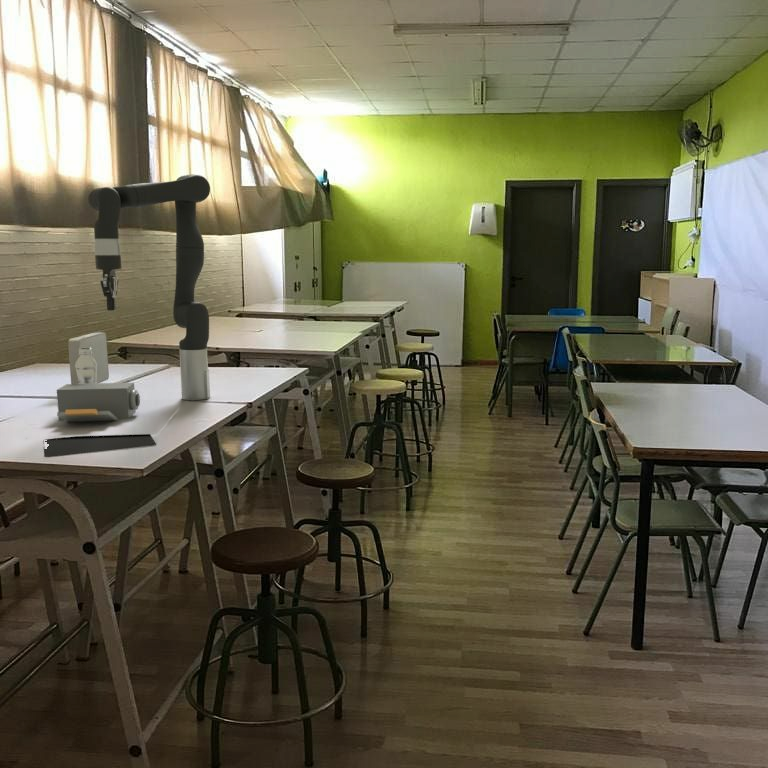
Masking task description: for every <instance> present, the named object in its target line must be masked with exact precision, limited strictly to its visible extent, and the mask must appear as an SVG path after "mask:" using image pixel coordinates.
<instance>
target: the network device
mask: <svg viewBox="0 0 768 768" xmlns="http://www.w3.org/2000/svg"><path fill="white" fill-rule="evenodd" d="M107 342H108V341H107V333H106V332H92V333H89V334H83V335H80V336H77V337H72V338H69V339H68V341H67V346H68V348H67V349H68V357H69V358H68V360H69V371H70V373H69V374H70V384H79V382H78V376H77V372H76V368H75V364H76V361H77V360H78V358H79V357H80V355H79V348H91V349H92V354H91V356H92V357H93V358H94V359H95V361H96V363H97V381H96V382H97V383H104V382H105V381H108V380H109V378H110V373H109V370H110V369H109V358H108V357H109V355H108V343H107Z"/></svg>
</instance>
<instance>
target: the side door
mask: <svg viewBox="0 0 768 768" xmlns="http://www.w3.org/2000/svg"><path fill="white" fill-rule="evenodd" d="M56 416H57V417H58V418H59V417H60V418H62V419H64V421H65V422H66V423H69V422H70V423H72V422H74V423H75V422H77V423H79V422H109V421H110V422H112V421H118V420H119V419H118V418H117V417H116V416H115V415H113V414H112V413H111V412H110V411H97V410H96V409H73V410H66V412H58V411H57V415H56Z"/></svg>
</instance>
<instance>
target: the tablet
mask: <svg viewBox="0 0 768 768" xmlns="http://www.w3.org/2000/svg"><path fill="white" fill-rule="evenodd" d="M45 440H47V441H45V442H47V444H49V446H48V447H47V449H44V448H43V458H55V457H64V456H65V457H66V456H74V455H75V456H76V455H84V454H92V453H100V452H101V453H104V452H112V451H113V452H114V451H122V450H123V451H124V450H130V449H141V448H150V447H156V446H157V442H156V441H155V440H154V437H153V436H152V435H151V433H142V434H110V435H108V434H106V435H75V436H74V435H73V436H64V437H56V438H46V439H45Z"/></svg>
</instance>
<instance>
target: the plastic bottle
mask: <svg viewBox="0 0 768 768" xmlns="http://www.w3.org/2000/svg"><path fill="white" fill-rule="evenodd" d="M91 354H92V349H91V348H79V355H80V357H79V358H78V360H77V361H76V364H75V368H76V372H77V376H78V382H79V384H97V382H96V381H97V363H96V361H95V359H94V358H93V357H92V356H91Z"/></svg>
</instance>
